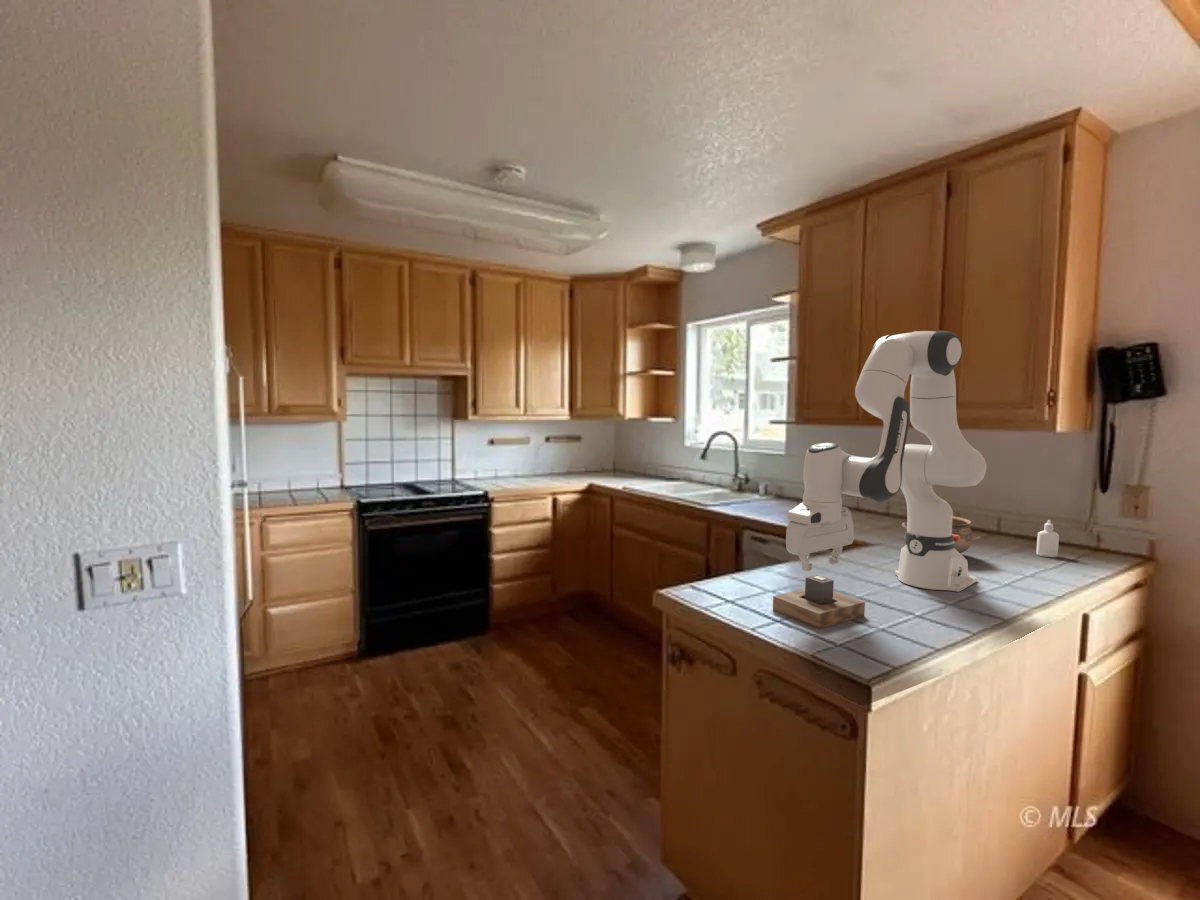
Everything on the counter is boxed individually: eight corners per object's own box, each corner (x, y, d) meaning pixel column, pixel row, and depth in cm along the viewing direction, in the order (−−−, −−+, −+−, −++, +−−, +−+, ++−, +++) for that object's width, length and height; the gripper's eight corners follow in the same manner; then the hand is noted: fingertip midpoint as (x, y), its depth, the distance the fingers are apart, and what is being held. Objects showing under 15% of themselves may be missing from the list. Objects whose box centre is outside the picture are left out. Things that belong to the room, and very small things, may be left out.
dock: (817, 598, 157) (817, 585, 157) (864, 616, 145) (864, 601, 145) (772, 609, 149) (773, 596, 149) (818, 628, 137) (819, 613, 137)
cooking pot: (993, 559, 195) (995, 522, 193) (963, 569, 184) (966, 530, 183) (916, 543, 215) (917, 510, 214) (886, 551, 205) (887, 516, 204)
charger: (815, 606, 151) (816, 574, 150) (832, 612, 146) (833, 579, 145) (804, 609, 149) (805, 576, 148) (821, 615, 144) (822, 581, 143)
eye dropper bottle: (1037, 553, 203) (1040, 517, 202) (1058, 556, 199) (1061, 520, 198) (1035, 555, 200) (1037, 519, 199) (1056, 558, 196) (1058, 522, 195)
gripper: (839, 504, 153) (838, 557, 155) (781, 513, 143) (780, 570, 144) (861, 508, 148) (859, 563, 149) (802, 518, 137) (801, 577, 139)
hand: (820, 567), depth 147 cm, fingers open, 8 cm apart
